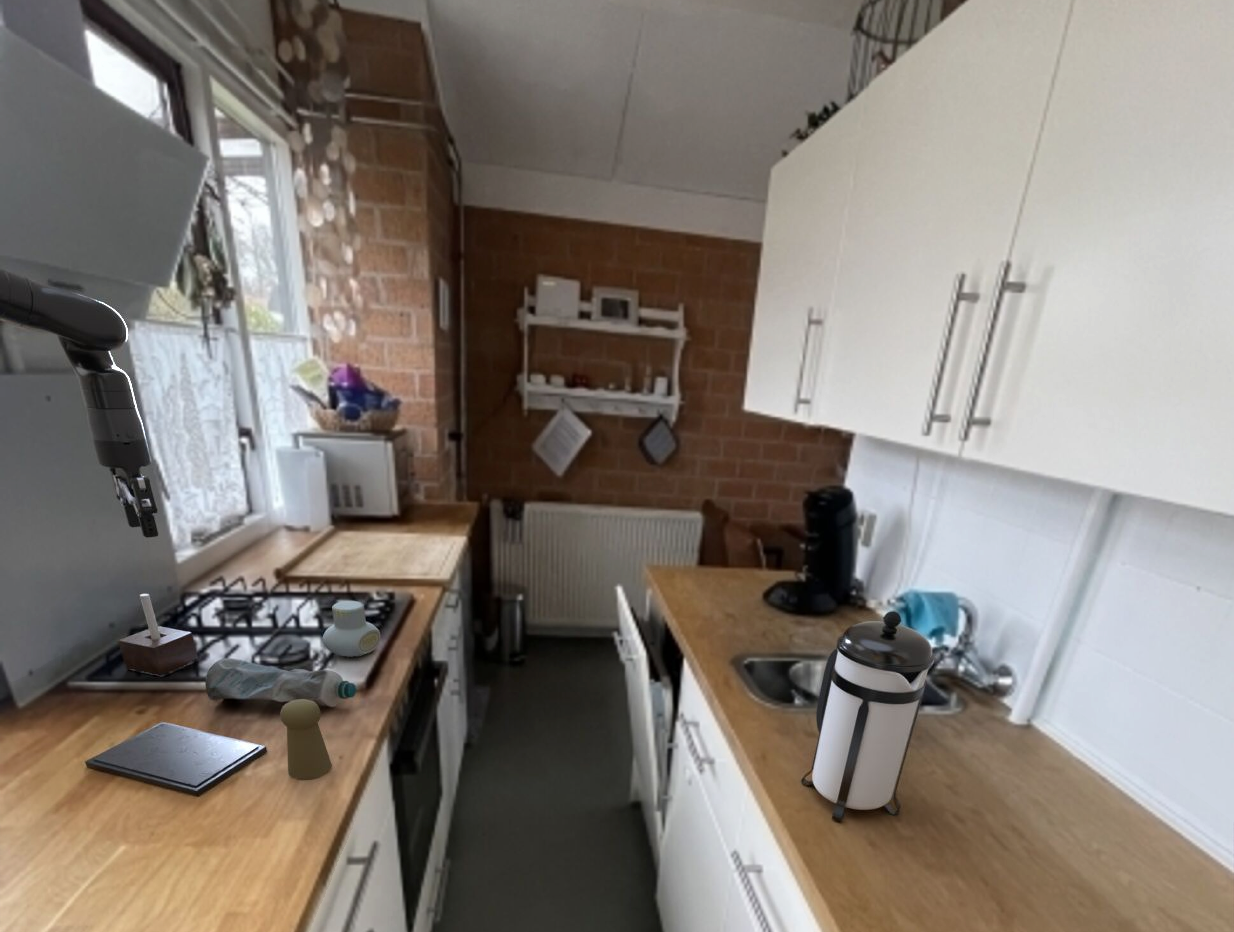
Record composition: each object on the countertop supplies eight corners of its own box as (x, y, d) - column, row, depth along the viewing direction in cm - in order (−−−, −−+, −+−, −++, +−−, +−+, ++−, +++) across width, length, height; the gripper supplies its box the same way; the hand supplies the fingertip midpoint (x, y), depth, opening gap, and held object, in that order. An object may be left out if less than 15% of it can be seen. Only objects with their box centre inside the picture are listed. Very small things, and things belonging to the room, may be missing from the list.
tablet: (86, 767, 102) (83, 760, 101) (164, 726, 113) (162, 720, 112) (198, 796, 97) (196, 789, 96) (267, 751, 108) (266, 745, 108)
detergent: (194, 709, 118) (333, 726, 115) (186, 669, 115) (328, 685, 112) (246, 683, 130) (372, 697, 127) (239, 646, 127) (369, 659, 124)
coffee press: (913, 790, 110) (966, 609, 96) (882, 841, 98) (938, 641, 84) (808, 753, 118) (844, 581, 104) (769, 795, 106) (802, 607, 92)
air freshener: (354, 639, 149) (348, 594, 144) (387, 646, 147) (382, 600, 142) (318, 657, 140) (310, 610, 135) (353, 665, 137) (346, 617, 133)
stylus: (157, 666, 132) (137, 595, 125) (163, 663, 133) (144, 593, 126) (163, 667, 131) (143, 596, 125) (169, 665, 133) (150, 594, 126)
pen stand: (126, 670, 130) (117, 640, 127) (165, 654, 137) (157, 625, 134) (162, 678, 128) (153, 647, 125) (199, 661, 135) (192, 632, 132)
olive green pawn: (340, 766, 106) (330, 701, 101) (305, 784, 101) (293, 717, 96) (314, 753, 108) (303, 690, 103) (279, 770, 104) (265, 705, 99)
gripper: (81, 431, 120) (108, 526, 128) (104, 442, 112) (131, 543, 119) (132, 429, 125) (155, 521, 133) (157, 440, 117) (180, 537, 124)
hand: (143, 531), depth 126 cm, fingers open, 8 cm apart
